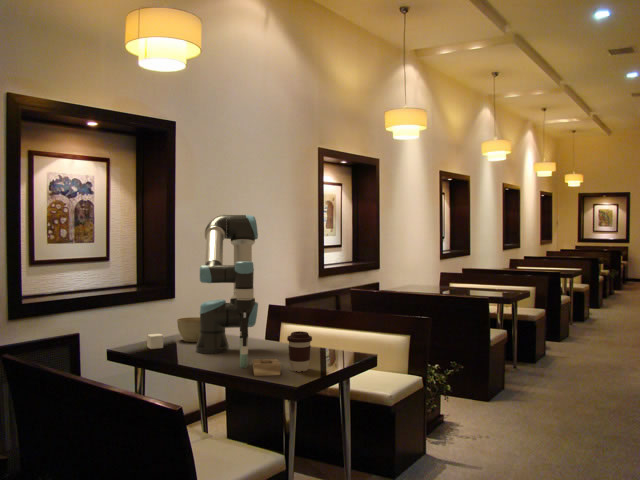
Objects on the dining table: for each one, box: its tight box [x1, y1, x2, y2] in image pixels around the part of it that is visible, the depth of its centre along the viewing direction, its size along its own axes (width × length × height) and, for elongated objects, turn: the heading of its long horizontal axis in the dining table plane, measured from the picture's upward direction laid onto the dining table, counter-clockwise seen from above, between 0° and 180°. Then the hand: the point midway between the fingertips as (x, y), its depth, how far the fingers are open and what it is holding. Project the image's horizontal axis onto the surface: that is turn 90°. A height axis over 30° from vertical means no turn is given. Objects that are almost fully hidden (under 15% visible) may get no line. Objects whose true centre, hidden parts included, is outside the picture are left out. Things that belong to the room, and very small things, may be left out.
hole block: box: [252, 358, 281, 377], centre depth 222 cm, size 10×10×4 cm
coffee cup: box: [286, 331, 313, 373], centre depth 226 cm, size 10×10×15 cm
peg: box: [239, 337, 248, 369], centre depth 230 cm, size 3×3×12 cm
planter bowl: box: [176, 316, 200, 343], centre depth 285 cm, size 16×16×11 cm
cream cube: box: [146, 333, 164, 350], centre depth 267 cm, size 6×6×6 cm
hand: (243, 351), depth 229 cm, fingers open, 13 cm apart
